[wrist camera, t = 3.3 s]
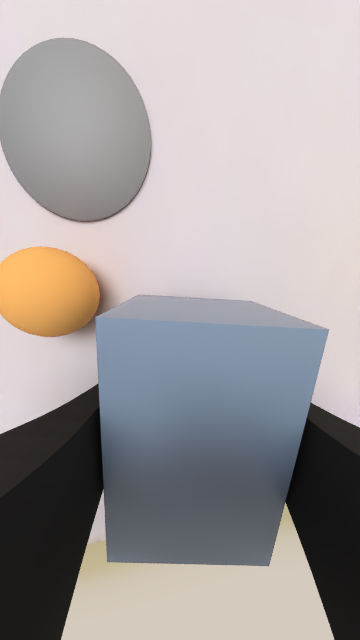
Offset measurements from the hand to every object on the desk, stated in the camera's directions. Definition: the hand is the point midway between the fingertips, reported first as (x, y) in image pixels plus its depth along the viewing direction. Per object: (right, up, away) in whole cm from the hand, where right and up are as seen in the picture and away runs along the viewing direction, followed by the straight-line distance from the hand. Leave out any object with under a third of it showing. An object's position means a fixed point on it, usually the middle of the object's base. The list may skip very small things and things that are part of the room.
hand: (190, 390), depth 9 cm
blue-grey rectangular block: (0, 0, +1) cm, 1 cm away
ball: (-6, +5, -1) cm, 8 cm away
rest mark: (-5, +12, 0) cm, 13 cm away
